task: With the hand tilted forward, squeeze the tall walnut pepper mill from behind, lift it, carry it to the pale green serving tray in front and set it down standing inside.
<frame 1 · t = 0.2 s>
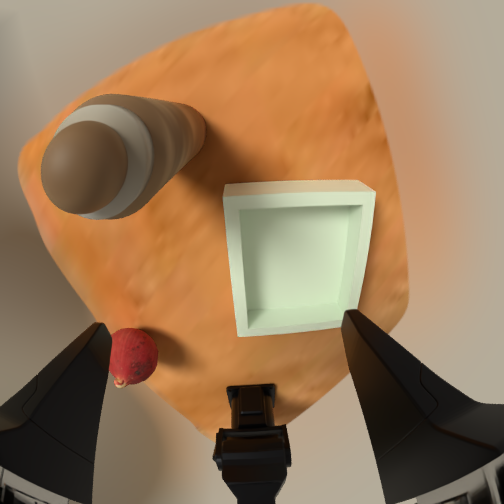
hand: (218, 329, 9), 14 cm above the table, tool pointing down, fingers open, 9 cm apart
pomegranate: (140, 330, 28), on the table
serving tray: (293, 252, 24), on the table
pepper mill: (175, 133, 19), on the table
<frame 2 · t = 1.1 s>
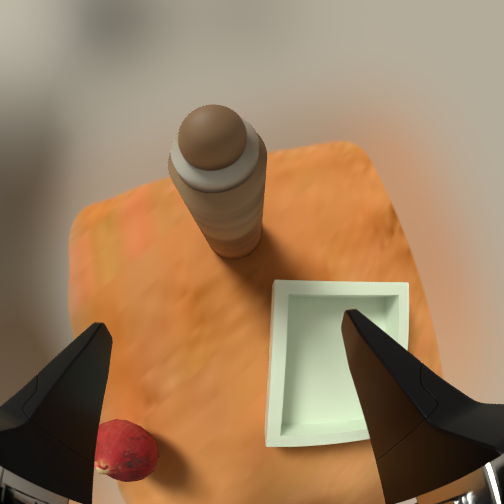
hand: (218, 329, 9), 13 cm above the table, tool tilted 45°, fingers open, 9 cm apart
pomegranate: (140, 435, 20), on the table
serving tray: (332, 361, 21), on the table
pepper mill: (233, 232, 24), on the table
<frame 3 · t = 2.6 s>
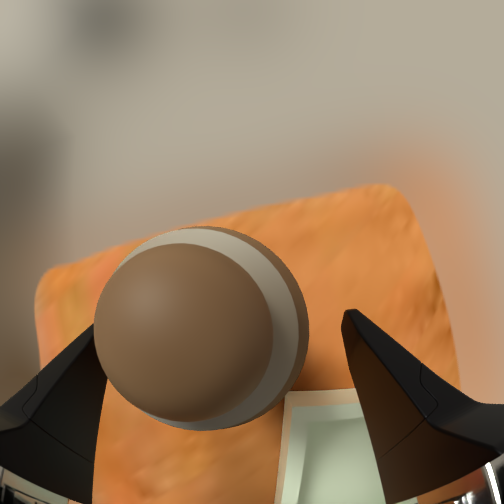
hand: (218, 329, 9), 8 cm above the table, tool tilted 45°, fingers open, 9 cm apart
serving tray: (350, 462, 15), on the table
pepper mill: (235, 323, 17), on the table
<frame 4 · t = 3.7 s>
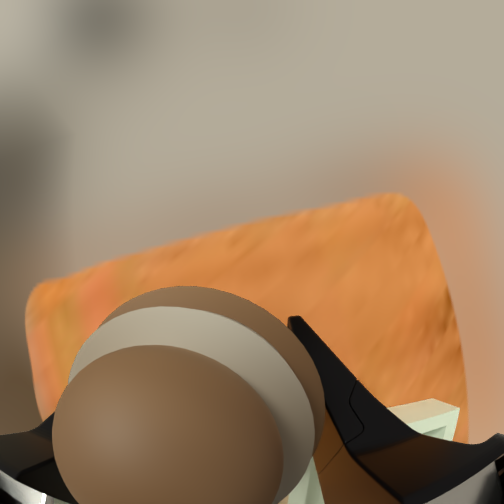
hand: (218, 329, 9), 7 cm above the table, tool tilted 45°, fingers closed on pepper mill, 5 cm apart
serving tray: (354, 483, 13), on the table
pepper mill: (235, 347, 16), on the table, touching gripper
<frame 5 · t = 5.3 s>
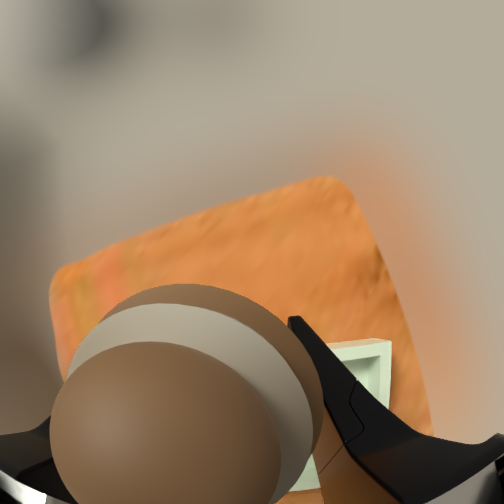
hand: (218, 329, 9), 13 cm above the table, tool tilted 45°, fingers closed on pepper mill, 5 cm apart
serving tray: (314, 413, 20), on the table
pepper mill: (235, 346, 16), point 6 cm above the table, touching gripper
when the fingers open (9 cm above the table, at t = 7.0 s): pepper mill drops 1 cm, resting on serving tray.
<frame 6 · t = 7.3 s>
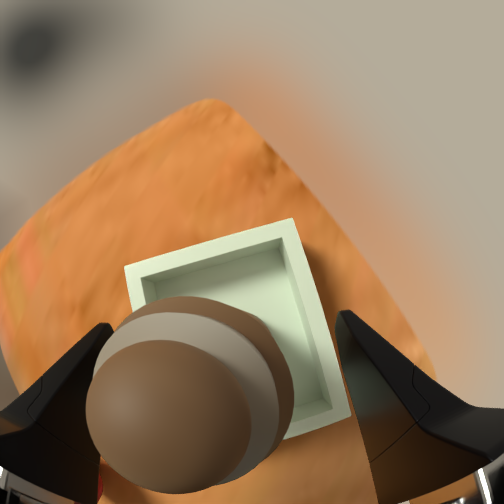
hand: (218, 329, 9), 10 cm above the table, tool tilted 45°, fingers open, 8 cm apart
serving tray: (237, 343, 18), on the table
pepper mill: (236, 346, 17), point 1 cm above the table, touching serving tray
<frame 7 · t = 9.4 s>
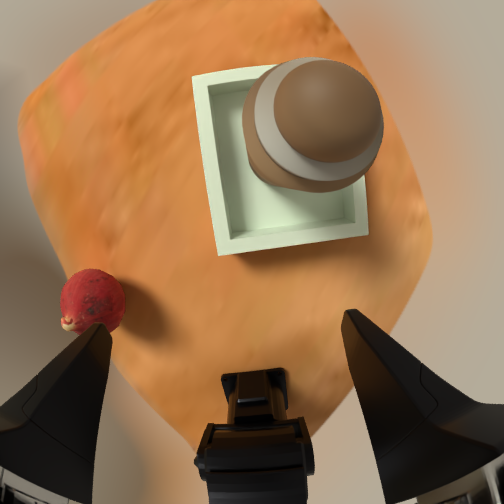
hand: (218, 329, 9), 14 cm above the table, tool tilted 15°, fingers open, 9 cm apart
pomegranate: (111, 286, 24), on the table
serving tray: (279, 155, 21), on the table
pepper mill: (279, 155, 20), point 1 cm above the table, touching serving tray
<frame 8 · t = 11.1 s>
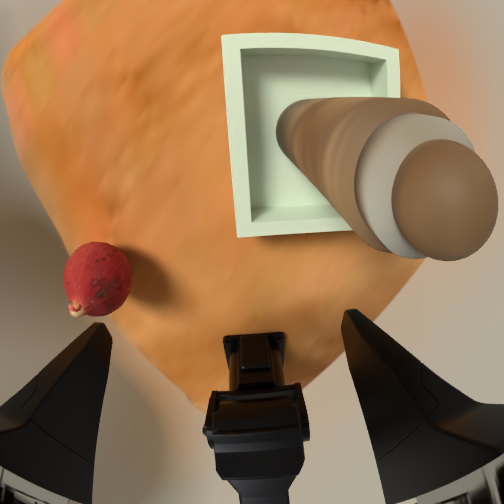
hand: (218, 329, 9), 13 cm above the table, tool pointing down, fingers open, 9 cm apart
pomegranate: (114, 252, 23), on the table
serving tray: (308, 129, 18), on the table
pepper mill: (310, 132, 17), point 1 cm above the table, touching serving tray
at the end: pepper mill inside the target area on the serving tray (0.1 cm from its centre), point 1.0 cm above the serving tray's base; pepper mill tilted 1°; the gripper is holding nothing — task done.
